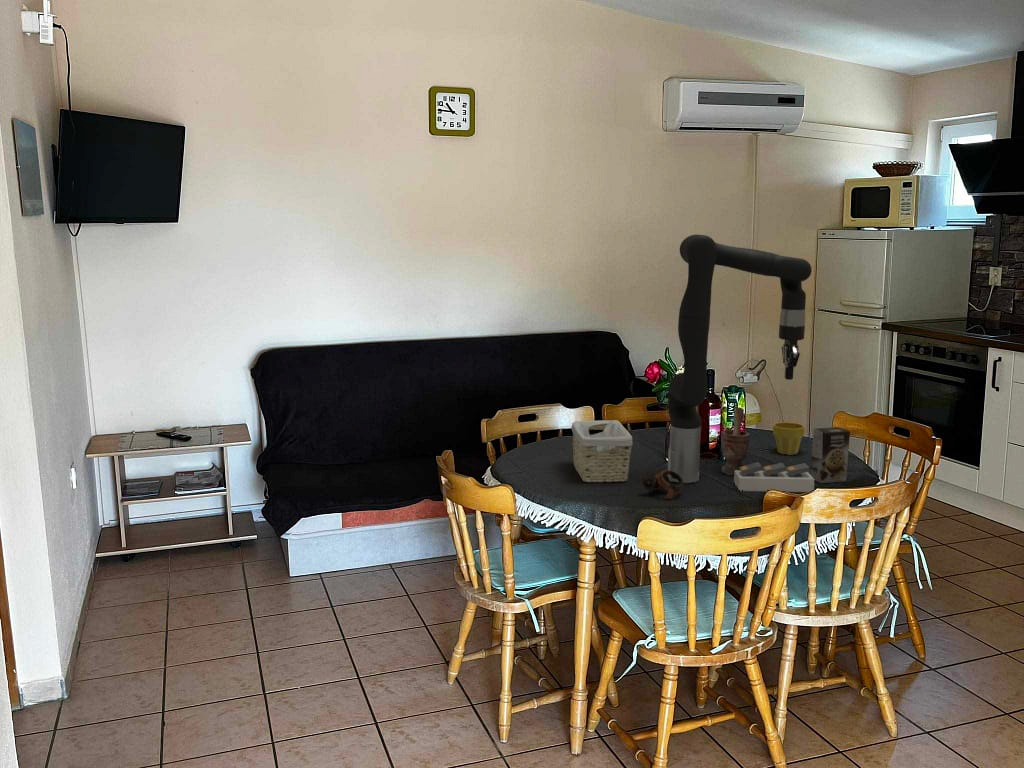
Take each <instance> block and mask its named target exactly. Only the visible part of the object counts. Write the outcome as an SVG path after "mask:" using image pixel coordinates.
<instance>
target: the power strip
mask: <svg viewBox="0 0 1024 768" xmlns="http://www.w3.org/2000/svg"><path fill="white" fill-rule="evenodd" d="M734 483H735V484H734ZM733 484H734V485H735V487H736V486H737V487H736V488H738V489H739V490H740V491H739V490H738V489H737V490H738V491H739V492H768V491H767V490H770V489H776V490H781V491H786V492H785V493H791V492H792V493H811V492H810V491H812V490H814V491H815V480H814V478H813V477H812V476H811V475H810V472H805V473H801V474H797V475H793V476H790V475H789V474H788V473H787V472H786V471H785V472H780V473H776V474H772V475H767V476H766V474H765V473H764V472H763V470H761V471H758V472H755V473H751V474H748V475H745V476H743V475H742V473H741V472H740V471H738V470H735V472H734V475H733ZM742 490H743V491H742Z"/></svg>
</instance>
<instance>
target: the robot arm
mask: <svg viewBox="0 0 1024 768" xmlns="http://www.w3.org/2000/svg"><path fill="white" fill-rule="evenodd" d="M679 255H680V257H681V259H682V260H683V261H684V262H685V263H686V264H688V271H687V273H688V275H687V277H688V278H687V284H686V287H685V291H684V294H683V297H682V300H681V302H680V306H679V310H678V322H677V325H678V326H677V330H678V331H677V333H678V339H679V343H680V346H681V350H682V354H683V355H682V356H683V363H684V365H683V372H679V373H676V374H675V375H674V376H673V377H672V378H671V379H670V382H669V386H668V393H667V394H668V397H667V400H668V403H667V405H668V407H667V408H668V411H667V412H668V416H669V418H670V427H669V428H670V429H669V430H670V431H669V434H670V435H669V446H668V450H667V451H668V453H667V454H668V455H667V456H668V457H667V461H668V462H667V470H669V471H673V472H675V473H677V474H678V475H679V476H680V477H681V478H682V480H683V484H692V482H693V483H696V481H697V482H699V479H700V478H699V477H700V456H701V455H700V454H701V436H702V435H701V432H702V417H701V415H700V414H699V413H698V410H697V407H698V406H700V405H701V404H702V403H703V402H704V401H705V399H706V397H707V392H708V372H707V371H708V369H707V367H708V366H707V365H708V363H707V359H708V349H709V348H708V347H709V332H710V323H711V321H710V320H711V307H712V306H711V304H712V303H711V302H712V286H713V285H712V284H713V277H714V272H715V267H716V266H720V267H727V268H730V269H731V268H732V269H735V270H738V271H743V272H746V273H750V274H755V275H761V276H765V277H775V278H778V279H779V280H780V281H779V282H780V289H781V295H782V296H781V307H780V308H781V309H780V314H779V324H778V325H779V326H778V329H779V330H778V338H779V340H783V341H784V343H783V344H782V346H781V354H782V356H781V357H782V363H783V364H784V365H783V366H784V367H785V368H784V379H785V380H789V381H790V380H793V379H794V369H795V367H797V365H798V361H799V358H800V354H801V353H800V352H799V348H800V347H799V345H798V344H799V343H798V342H799V341H802V340H804V339H805V332H806V331H805V330H806V329H805V328H806V304H807V301H806V299H807V297H806V296H807V295H806V291H805V290H803V287H802V282H804V281H806V280H808V279H809V278H810V277H811V274H812V269H813V268H812V265H811V264H810V263H809V261H808V260H807V259H804V258H800V257H793V256H788V255H787V256H786V255H780V254H776V253H775V252H774V253H773V252H769V251H765V250H760V249H753V248H746V247H745V248H744V247H739V246H738V247H736V246H730V245H727V244H722V243H718V242H716V241H714V239H713V238H712V237H711V236H708V235H706V234H705V235H704V234H692V235H688V236H687V237H685V238H684V239H683V240H682V241H681V243H680V245H679ZM671 477H672V476H671V475H669V474H668V475H667V478H668V481H669V482H674V483H679V481H678V479H674V478H671Z"/></svg>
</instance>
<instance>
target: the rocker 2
mask: <svg viewBox="0 0 1024 768" xmlns="http://www.w3.org/2000/svg"><path fill="white" fill-rule="evenodd" d="M786 467H787V466H785V464H784V463H783V462H778V463H774V464H771V465H766V466H762V469H763V470H762V471H763V472H764V473H765V474H766V476H767V475H772V474H776V473H780V472H785V471H786Z"/></svg>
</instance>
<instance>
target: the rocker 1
mask: <svg viewBox="0 0 1024 768" xmlns="http://www.w3.org/2000/svg"><path fill="white" fill-rule="evenodd" d="M762 467H763V466H762V464H761V463H760V462H759V461H756V462H753V463H752V462H751V463H749V464H746V465H742V467H739V469H740V472H741V473H742V475H743V476H745V475H748V474H751V473H755V472H758V471H763V468H762Z"/></svg>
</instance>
